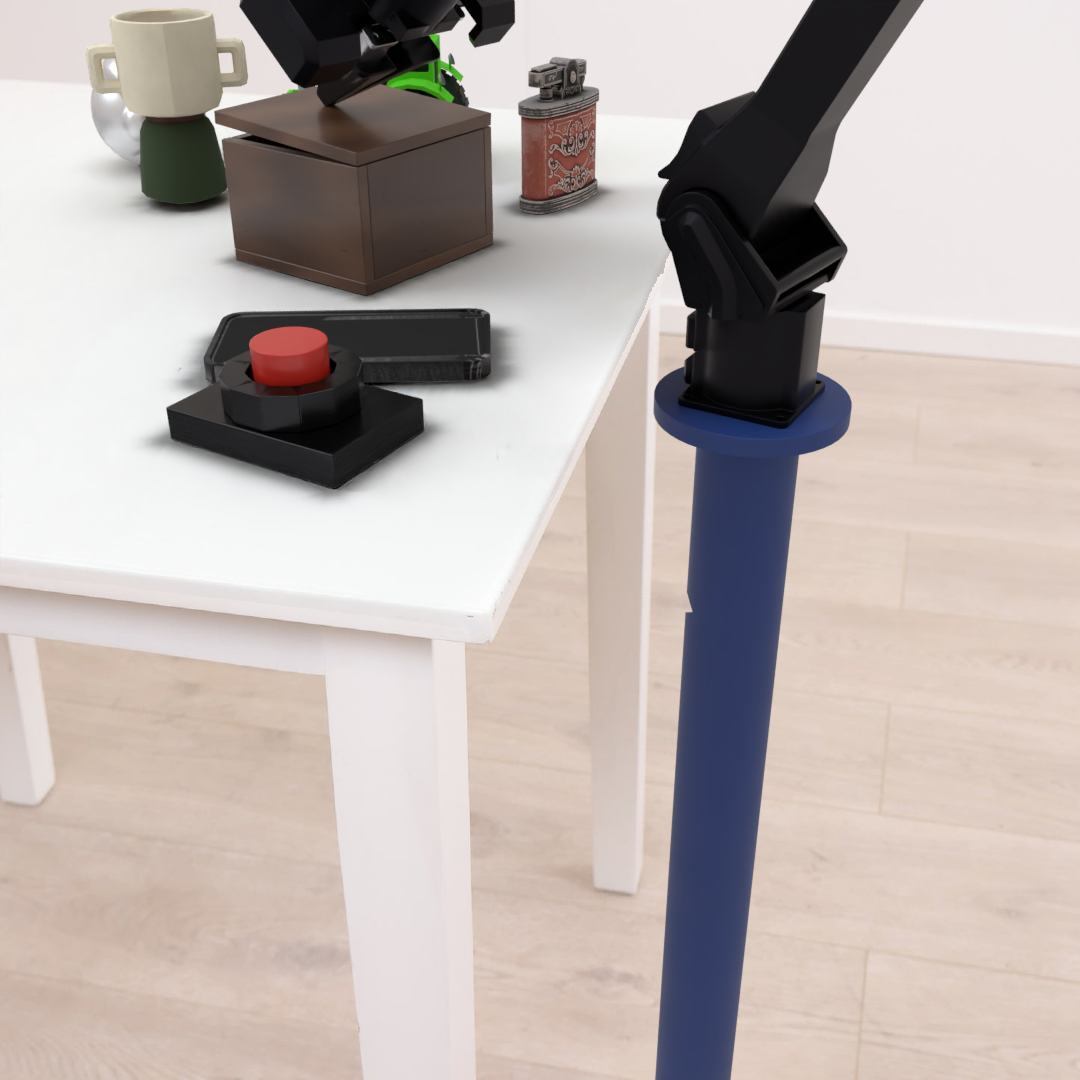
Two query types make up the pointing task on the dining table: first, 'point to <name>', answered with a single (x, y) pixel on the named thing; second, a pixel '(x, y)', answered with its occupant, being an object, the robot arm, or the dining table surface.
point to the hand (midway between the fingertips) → (324, 99)
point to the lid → (354, 122)
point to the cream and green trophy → (171, 95)
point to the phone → (375, 340)
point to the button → (289, 356)
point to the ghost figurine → (116, 120)
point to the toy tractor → (430, 80)
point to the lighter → (558, 137)
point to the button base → (299, 420)
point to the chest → (359, 209)
